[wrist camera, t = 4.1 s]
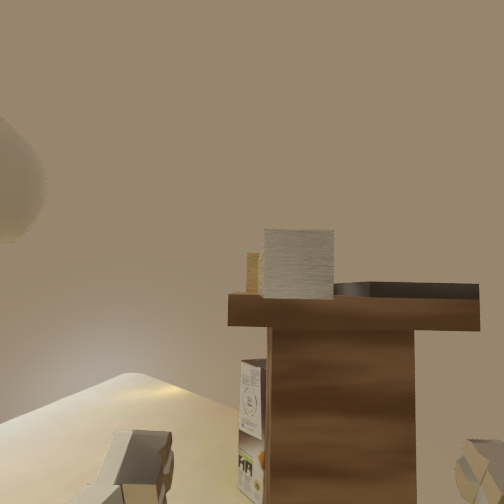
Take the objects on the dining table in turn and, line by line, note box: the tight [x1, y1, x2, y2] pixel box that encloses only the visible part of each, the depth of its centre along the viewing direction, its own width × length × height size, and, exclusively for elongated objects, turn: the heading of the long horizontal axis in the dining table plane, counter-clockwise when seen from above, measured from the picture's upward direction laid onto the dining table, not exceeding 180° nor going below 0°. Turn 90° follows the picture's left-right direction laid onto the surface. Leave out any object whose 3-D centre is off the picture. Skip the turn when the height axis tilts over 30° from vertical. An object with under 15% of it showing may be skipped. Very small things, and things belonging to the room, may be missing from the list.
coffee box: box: [237, 359, 267, 504], centre depth 52 cm, size 9×6×16 cm
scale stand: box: [228, 282, 480, 504], centre depth 33 cm, size 16×16×26 cm
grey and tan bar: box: [246, 229, 334, 300], centre depth 29 cm, size 24×5×4 cm, turn 0°
